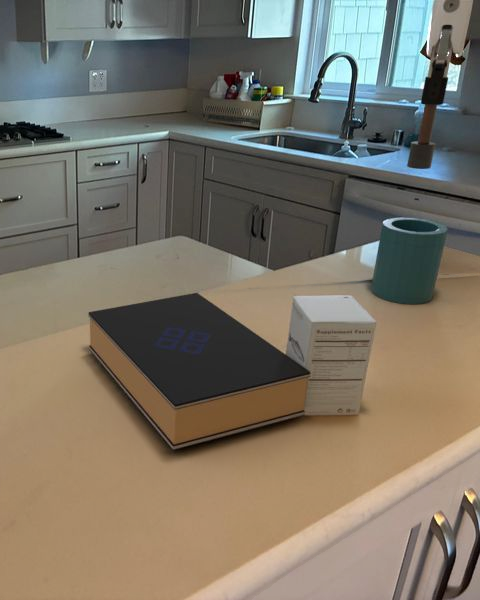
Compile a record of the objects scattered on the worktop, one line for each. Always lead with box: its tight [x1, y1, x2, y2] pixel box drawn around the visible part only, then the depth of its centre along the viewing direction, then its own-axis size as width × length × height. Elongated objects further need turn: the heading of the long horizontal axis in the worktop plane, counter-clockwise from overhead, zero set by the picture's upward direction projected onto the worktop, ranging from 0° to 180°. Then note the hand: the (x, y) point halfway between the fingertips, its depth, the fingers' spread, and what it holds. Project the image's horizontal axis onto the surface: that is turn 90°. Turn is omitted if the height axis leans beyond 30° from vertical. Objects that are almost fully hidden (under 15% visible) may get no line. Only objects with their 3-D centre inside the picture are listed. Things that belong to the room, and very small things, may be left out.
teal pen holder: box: [370, 217, 449, 305], centre depth 103 cm, size 9×9×12 cm
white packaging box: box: [285, 294, 377, 416], centre depth 73 cm, size 7×7×13 cm
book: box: [87, 292, 311, 451], centre depth 79 cm, size 17×25×7 cm
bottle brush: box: [406, 69, 438, 170], centre depth 102 cm, size 4×4×16 cm
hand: (431, 102), depth 101 cm, fingers closed on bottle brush
